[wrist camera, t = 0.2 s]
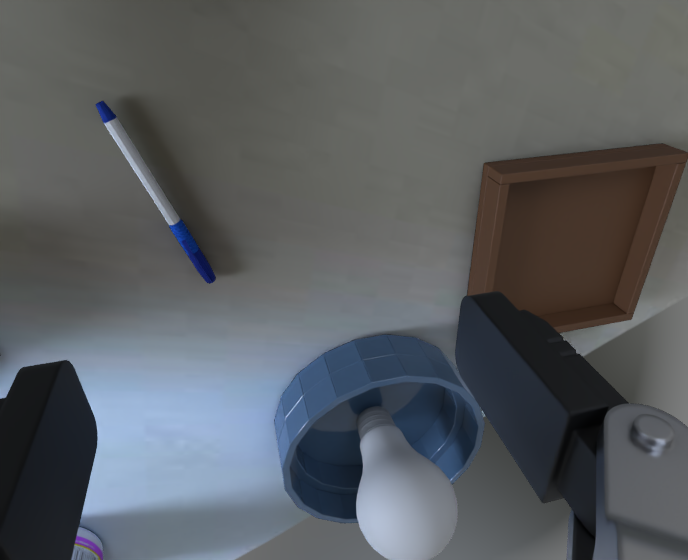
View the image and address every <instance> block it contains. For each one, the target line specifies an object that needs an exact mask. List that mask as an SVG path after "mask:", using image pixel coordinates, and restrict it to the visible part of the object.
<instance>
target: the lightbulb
mask: <svg viewBox="0 0 688 560" xmlns="http://www.w3.org/2000/svg"><path fill="white" fill-rule="evenodd" d="M356 423H357V428H358V433H359V436H360V439H361V442H360V450H361V454H362V461H363V473H362V477H361V481H360V484H359V489H358V494H357V500H356V513H357V519H358V522H359V526H360V529H361V531H362V533H363V535H364V537H365V538H366V540H367V541H368V543H369V544H370V545H371V546H372V548H373V549H375V550H376V551H377V552H378V553H380V554H381V555H382V556H383V557H385V558H387V559H389V560H430V559H432V558H433V557H435V556H436V555H437V554H439V553H440V552H441V551H442V550H443V549H444V548H445V547H446V546H447V544H448V543H449V541H450V540H451V538H452V536H453V534H454V531H455V528H456V524H457V517H458V507H457V499H456V495H455V492H454V489H453V487H452V484H451V482H450V480H449V479H448V478H447V476H446V475H445V474H444V473H443V471H442V470H441V469H440V468H439V467H438V466H437V465H435V464H434V463H433V462H431V461H430V460H429V459H427V458H426V457H424V456H422V455H421V454H419V453H417V452H416V451H415V450H414V449H413V448H412V447H411V446H410V444H409V443H408V442H407V440H406V439H405V437H404V435H403V433H402V431H401V430H400V429H399V428H398V427H396V425H395V424H394V422H393V420H392V418H391V416H390V414H389V412H388V411H387V410H386V409H385V408H383V407H379V406H373V407H369V408H367V409H365V410H364V411H362V412H361V413H360V415H359V416H358V418H357V422H356Z"/></svg>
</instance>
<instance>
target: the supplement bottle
mask: <svg viewBox="0 0 688 560" xmlns="http://www.w3.org/2000/svg"><path fill="white" fill-rule="evenodd" d="M103 553H104V552H103V546H102V543H101V541H100V540H99V538H98V537H97V536H96V535H95V534H94V533H92V532H91V531H89V530H87V529H84V528H81V527H79V528H78V532H77V536H76V541H75V545H74V550H73V554H72V558H71V560H103Z"/></svg>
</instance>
